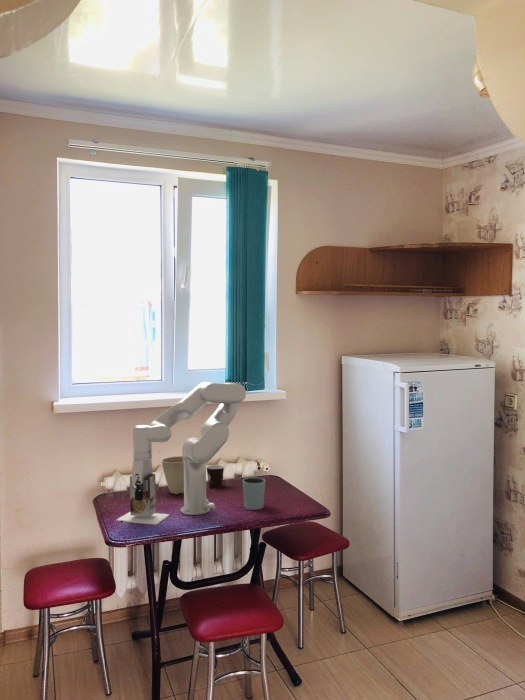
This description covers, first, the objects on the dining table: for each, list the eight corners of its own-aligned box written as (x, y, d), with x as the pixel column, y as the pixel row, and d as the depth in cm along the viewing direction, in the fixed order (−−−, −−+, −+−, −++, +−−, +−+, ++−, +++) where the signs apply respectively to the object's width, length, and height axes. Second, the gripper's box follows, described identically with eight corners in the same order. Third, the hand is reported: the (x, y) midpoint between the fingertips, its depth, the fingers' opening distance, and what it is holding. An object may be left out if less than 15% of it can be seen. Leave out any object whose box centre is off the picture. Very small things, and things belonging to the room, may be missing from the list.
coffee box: (156, 511, 241) (156, 473, 241) (150, 516, 235) (150, 477, 234) (136, 510, 243) (135, 472, 243) (129, 515, 237) (129, 476, 236)
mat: (169, 515, 242) (169, 514, 242) (156, 524, 231) (156, 523, 231) (130, 512, 247) (130, 511, 247) (116, 521, 236) (116, 519, 236)
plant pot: (185, 486, 289) (185, 454, 289) (198, 493, 277) (197, 460, 276) (157, 490, 282) (157, 458, 281) (169, 497, 269) (168, 464, 269)
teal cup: (249, 502, 261) (249, 476, 260) (269, 505, 256) (269, 478, 256) (238, 508, 252) (238, 481, 251) (259, 511, 247) (259, 483, 247)
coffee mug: (206, 484, 292) (206, 465, 292) (223, 484, 293) (223, 464, 293) (207, 491, 280) (206, 470, 280) (224, 490, 281) (224, 470, 281)
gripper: (144, 450, 248) (144, 491, 248) (123, 458, 231) (124, 503, 231) (160, 451, 246) (160, 492, 246) (140, 459, 229) (141, 504, 229)
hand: (143, 497), depth 239 cm, fingers closed on coffee box, 6 cm apart
